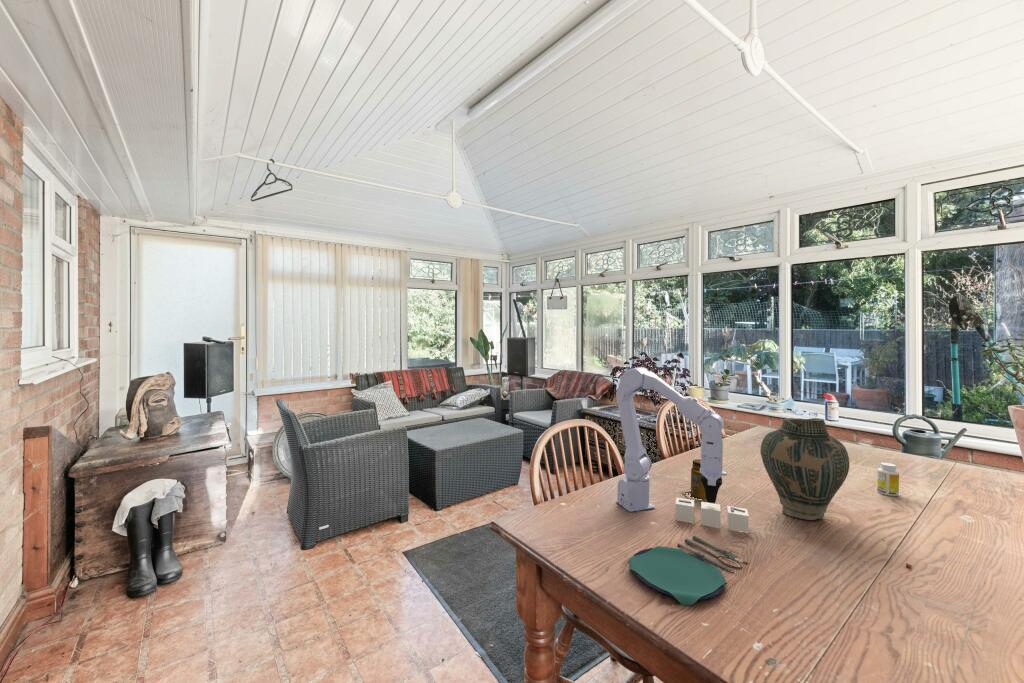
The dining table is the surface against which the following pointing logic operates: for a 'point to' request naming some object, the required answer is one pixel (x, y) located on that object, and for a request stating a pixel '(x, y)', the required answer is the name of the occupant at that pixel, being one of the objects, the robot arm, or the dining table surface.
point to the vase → (804, 466)
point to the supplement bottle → (888, 479)
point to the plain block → (710, 514)
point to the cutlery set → (681, 571)
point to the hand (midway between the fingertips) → (710, 502)
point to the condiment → (696, 482)
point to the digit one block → (684, 510)
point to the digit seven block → (737, 519)
